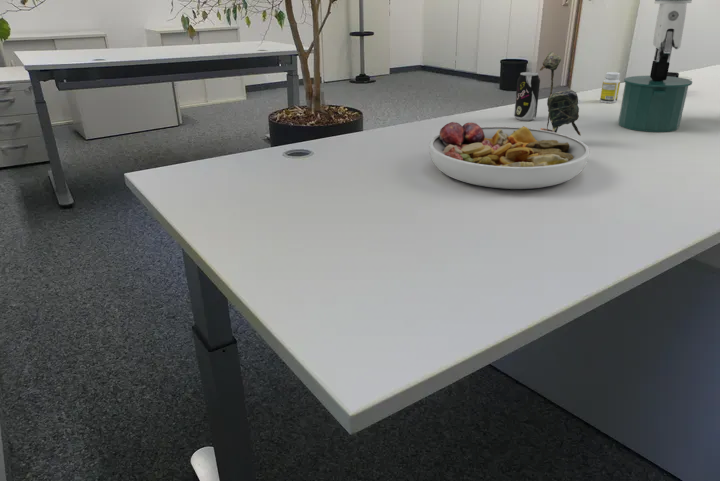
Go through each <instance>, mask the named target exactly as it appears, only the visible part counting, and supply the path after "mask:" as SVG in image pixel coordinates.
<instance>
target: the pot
mask: <svg viewBox="0 0 720 481" xmlns="http://www.w3.org/2000/svg"><path fill="white" fill-rule="evenodd" d="M688 90H689V86H685V87H673V88H661V87H645V86H637V85H631V84H628V83H625V82H624V88H623V93H622V100H621V103H620V104H621V105H620V110H619V115H618V126H620V127H622V128H624V129H628V130H632V131H639V132H645V133H647V132H648V133H669V132H675V131H677V130H678V129H679V127H680V125H681V122H682V116H683V113H684V108H685V102H686V100H687V94H688Z"/></svg>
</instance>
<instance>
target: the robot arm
mask: <svg viewBox="0 0 720 481" xmlns="http://www.w3.org/2000/svg"><path fill="white" fill-rule="evenodd" d="M692 2H693V0H654V4H658V5H659V6H658V10H657V16H656V22H655V27H654V32H653V42H652V43H653V46H654V47H655V50H654V55H653V56H654V57H653V60H652V63H651V69H650V73H649V74H650V75H649V76H650V77H651V78H652V80H666V79H667V74H668V72H669V68H670V64H671V63H670V61H671V56H672V51H673V48H674V50H679V49H680V48H681V45H682V39H683V34H684V33H683V32H684V27H685V20H686V14H687V4H692ZM656 57H657V59H656Z"/></svg>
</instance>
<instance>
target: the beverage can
mask: <svg viewBox="0 0 720 481" xmlns="http://www.w3.org/2000/svg"><path fill="white" fill-rule="evenodd" d="M539 75H540V74H539V72H535V71H523V72H520V75H519V77H518V78H517V80H516V81H517V82H516V92H515V102H514V112H513V116H514V118H515V119H516V120H518V121H524V122H526V121H532V120H534V119H536V118H537V113H538V103H539V97H540V96H539V95H540V86H541V78H540V76H539Z"/></svg>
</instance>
